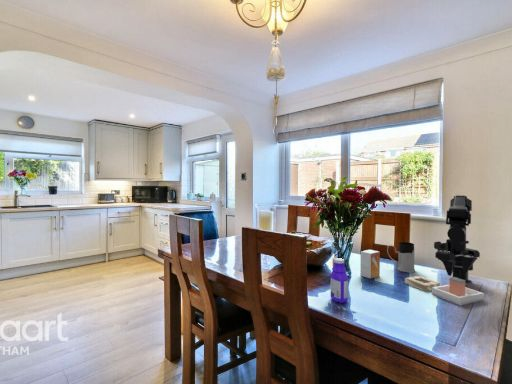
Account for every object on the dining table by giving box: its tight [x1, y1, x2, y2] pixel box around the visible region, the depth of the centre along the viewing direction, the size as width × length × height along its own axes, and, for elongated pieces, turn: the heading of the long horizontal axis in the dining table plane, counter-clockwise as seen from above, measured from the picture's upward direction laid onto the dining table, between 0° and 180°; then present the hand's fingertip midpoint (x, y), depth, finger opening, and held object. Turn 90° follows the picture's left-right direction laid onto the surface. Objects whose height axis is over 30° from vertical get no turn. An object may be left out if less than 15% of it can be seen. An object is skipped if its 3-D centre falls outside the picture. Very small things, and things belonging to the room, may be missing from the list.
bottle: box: [330, 257, 349, 304], centre depth 115 cm, size 7×6×17 cm
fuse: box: [448, 276, 466, 297], centre depth 117 cm, size 3×5×7 cm
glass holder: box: [386, 241, 416, 273], centre depth 156 cm, size 9×14×15 cm, turn 71°
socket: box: [404, 275, 442, 292], centre depth 130 cm, size 9×11×2 cm
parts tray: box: [431, 284, 485, 306], centre depth 117 cm, size 14×12×3 cm
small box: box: [359, 249, 381, 279], centre depth 145 cm, size 8×6×13 cm
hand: (457, 274), depth 116 cm, fingers open, 9 cm apart
